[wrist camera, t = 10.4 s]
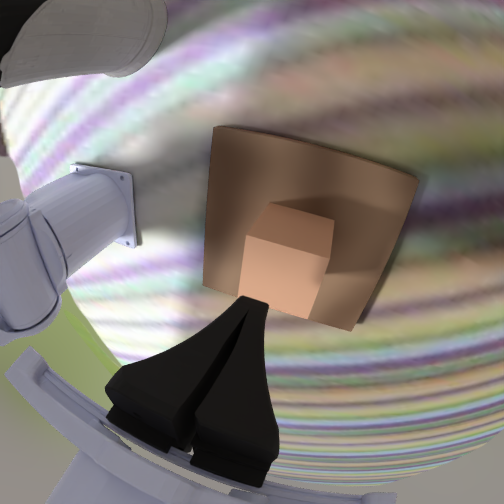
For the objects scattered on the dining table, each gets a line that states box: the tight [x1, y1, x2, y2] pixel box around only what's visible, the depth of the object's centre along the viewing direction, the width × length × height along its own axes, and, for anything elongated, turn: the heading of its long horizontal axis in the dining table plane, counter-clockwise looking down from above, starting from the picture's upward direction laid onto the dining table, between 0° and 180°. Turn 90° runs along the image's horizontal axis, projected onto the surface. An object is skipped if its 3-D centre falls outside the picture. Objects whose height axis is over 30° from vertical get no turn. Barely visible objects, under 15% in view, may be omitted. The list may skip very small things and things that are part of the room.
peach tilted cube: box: [237, 203, 335, 319], centre depth 18 cm, size 5×5×5 cm
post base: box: [203, 126, 419, 331], centre depth 18 cm, size 14×14×5 cm
